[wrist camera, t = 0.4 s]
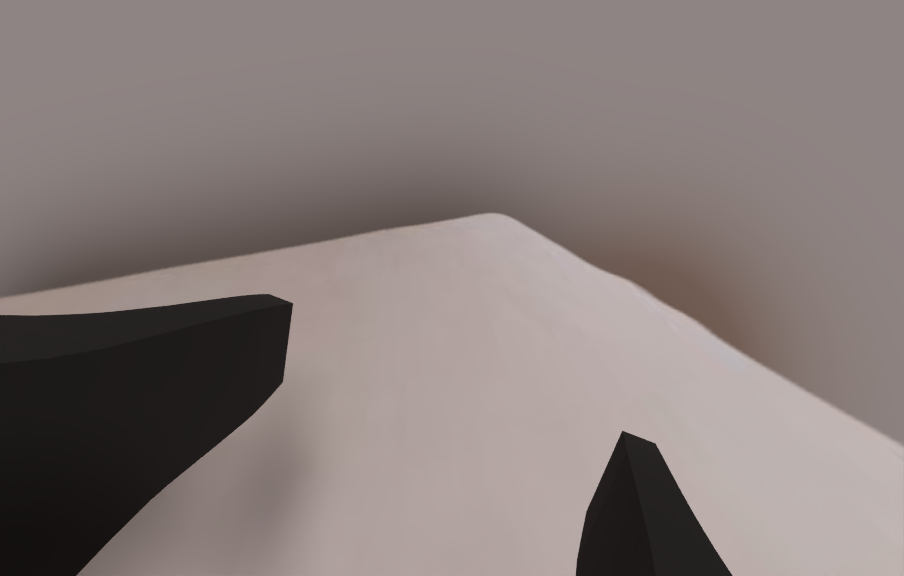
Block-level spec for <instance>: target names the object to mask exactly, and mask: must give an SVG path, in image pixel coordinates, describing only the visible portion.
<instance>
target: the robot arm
mask: <svg viewBox="0 0 904 576" xmlns="http://www.w3.org/2000/svg"><path fill="white" fill-rule="evenodd" d="M292 307H293V303H291V302H288V301H285V300H283V299H280V298H278V297H275V296H272V295H270V294H258V295H246V296H237V297H229V298H221V299H214V300H206V301H199V302H192V303H184V304H177V305H170V306H161V307H152V308H143V309H134V310H125V311H115V312H104V313H89V314H69V315H41V316H21V315H0V576H76V575H77V574H78V573H79V572H80V571H81V570H82V569H83V568H84V567H85V566H86V565H87V564H88V563H89V561H90V560H91V559H92V558H93V557H94V556H95V555H96V554H97V553H98V552H99V551H100V550H101V549H102V548H103V547H104V546H105V545H106V544H107V543H108V542H109V541H110V540H111V539H112V538H113V537H114V536H115V535H116V534H117V533H118V532H119V531H120V530H121V529H122V528H123V527H124V526H125V525H126V524H127V523H128V522H129V521H130V520H131V519H132V518H133V517H134V516H135V515H136V514H137V513H138V512H139V511H140V510H141V509H142V508H143V507H144V506H145V505H146V504H147V503H148V502H149V501H150V500H151V499H152V498H153V497H155V496H156V495H157V494H158V493H159V492H160V491H161V490H163V489H164V488H165V487H166V486H167V485H168V484H169V483H171V482H172V481H173V480H174V479H176V478H177V477H178V476H179V475H180V474H182V473H183V472H184V471H185V470H187V469H188V468H189V467H190V466H192V465H193V464H194V463H195V462H196V461H198V460H199V459H200V458H201V457H203V456H204V455H205V454H206V453H207V452H209V451H210V450H211V449H212V448H214V447H215V446H216V445H217V444H219V443H220V442H221V441H222V440H223V439H225V438H226V437H227V436H228V435H229V434H231V433H232V432H233V431H234V430H236V429H237V428H238V427H239V426H240V425H242V424H243V423H244V422H245V421H246V420H247V419H249V418H250V417H251V416H252V415H253V414H254V413H255V412H256V411H257V410H258V409H259V408H260V407H261V406H262V405H263V404H264V403H265V402H266V400H267V399H268V398H269V397H270V396H271V395H272V394H273V393H274V391H275V390H276V389H277V388H278V387H279V386H280V385H281V384H282V382H283V376H284V368H285V361H286V353H287V345H288V338H289V330H290V322H291V314H292ZM576 576H732V574H731V573H730V571H729V570H728V568H727V567H726V565H725V564H724V562H723V561H722V559H721V558H720V556H719V555H718V553H717V552H716V550H715V548H714V547H713V545H712V544H711V542H710V540H709V539H708V537H707V536H706V534H705V532H704V531H703V529H702V527H701V526H700V524H699V522H698V520H697V519H696V517H695V515H694V514H693V512H692V510H691V508H690V507H689V505H688V503H687V501H686V499H685V498H684V496H683V494H682V492H681V490H680V489H679V487H678V485H677V483H676V481H675V479H674V477H673V476H672V474H671V472H670V470H669V468H668V466H667V464H666V462H665V460H664V459H663V457H662V455H661V453H660V451H659V449H658V448H657V446H656V444H655V443H653V442H650V441H647V440H645V439H642V438H640V437H637V436H634V435H632V434H629V433H627V432H624V431H622V433H621V435H620V438H619V440H618V442H617V444H616V447H615V449H614V451H613V453H612V456H611V458H610V460H609V462H608V465H607V467H606V469H605V471H604V474H603V476H602V478H601V480H600V483H599V485H598V487H597V489H596V492H595V494H594V496H593V498H592V501H591V503H590V505H589V507H588V510H587V512H586V517H585V522H584V527H583V532H582V537H581V542H580V547H579V553H578V558H577V568H576Z"/></svg>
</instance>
